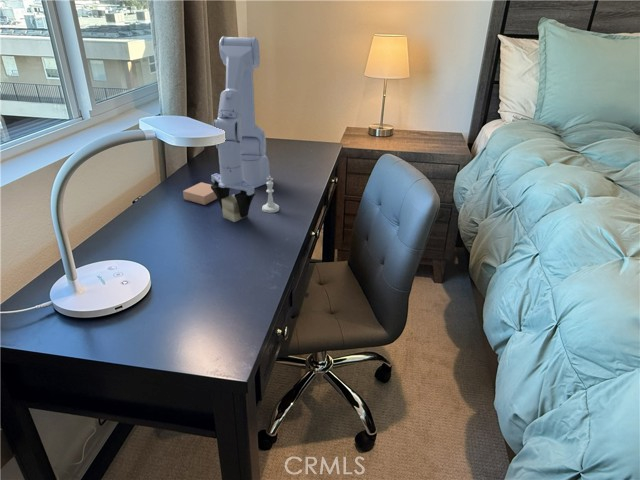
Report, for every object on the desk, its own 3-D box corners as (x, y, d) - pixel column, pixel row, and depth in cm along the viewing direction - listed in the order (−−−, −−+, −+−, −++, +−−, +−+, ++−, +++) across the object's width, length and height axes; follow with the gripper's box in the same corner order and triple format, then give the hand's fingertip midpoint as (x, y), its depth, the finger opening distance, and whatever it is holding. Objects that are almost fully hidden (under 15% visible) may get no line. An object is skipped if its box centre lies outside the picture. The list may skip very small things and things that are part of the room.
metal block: (235, 212, 125) (234, 194, 123) (246, 216, 123) (245, 198, 120) (223, 217, 122) (221, 199, 119) (234, 222, 120) (232, 203, 117)
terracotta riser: (202, 191, 138) (201, 182, 137) (222, 196, 135) (221, 187, 134) (184, 200, 132) (182, 191, 131) (205, 206, 129) (203, 196, 128)
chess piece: (276, 213, 125) (275, 180, 120) (259, 211, 126) (258, 178, 121) (281, 206, 129) (280, 173, 124) (265, 204, 130) (263, 172, 125)
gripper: (200, 162, 116) (205, 209, 123) (238, 175, 109) (242, 225, 115) (221, 155, 121) (225, 201, 128) (259, 168, 113) (261, 216, 120)
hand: (234, 212), depth 122 cm, fingers open, 7 cm apart
